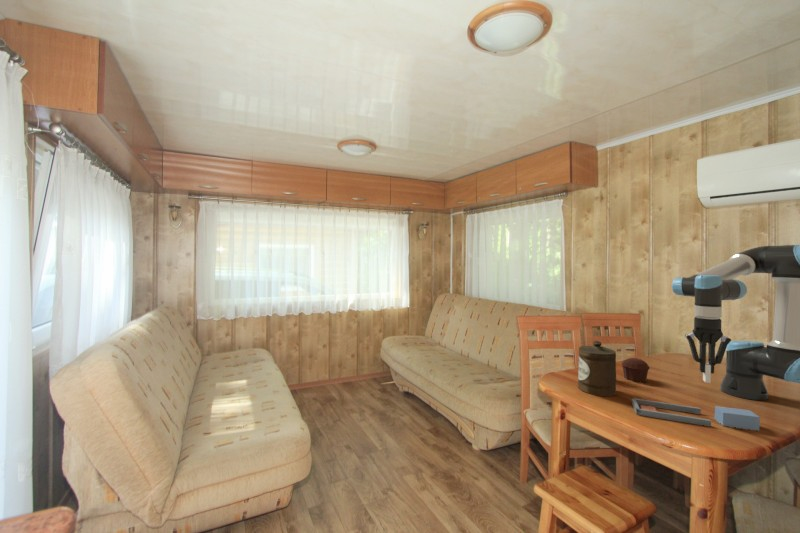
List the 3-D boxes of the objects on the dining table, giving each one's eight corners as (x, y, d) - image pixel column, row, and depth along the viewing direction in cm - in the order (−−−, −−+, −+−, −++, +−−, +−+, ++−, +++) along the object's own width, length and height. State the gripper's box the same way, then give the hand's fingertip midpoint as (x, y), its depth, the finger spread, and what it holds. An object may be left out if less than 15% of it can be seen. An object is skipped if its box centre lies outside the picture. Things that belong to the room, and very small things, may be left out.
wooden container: (576, 382, 170) (577, 336, 169) (612, 387, 164) (613, 339, 164) (579, 393, 156) (580, 343, 156) (618, 398, 150) (619, 346, 150)
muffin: (642, 376, 179) (643, 356, 179) (654, 383, 168) (654, 362, 168) (616, 374, 181) (617, 355, 181) (626, 382, 170) (627, 361, 170)
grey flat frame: (699, 413, 137) (699, 407, 136) (710, 426, 125) (711, 421, 125) (631, 402, 146) (631, 397, 146) (636, 414, 135) (636, 409, 135)
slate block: (749, 423, 128) (749, 410, 128) (759, 431, 123) (759, 417, 122) (714, 419, 132) (715, 406, 132) (722, 426, 126) (723, 412, 126)
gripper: (726, 316, 131) (725, 380, 131) (682, 314, 136) (681, 375, 137) (735, 320, 124) (734, 387, 125) (688, 317, 129) (687, 382, 130)
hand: (706, 381), depth 131 cm, fingers closed
